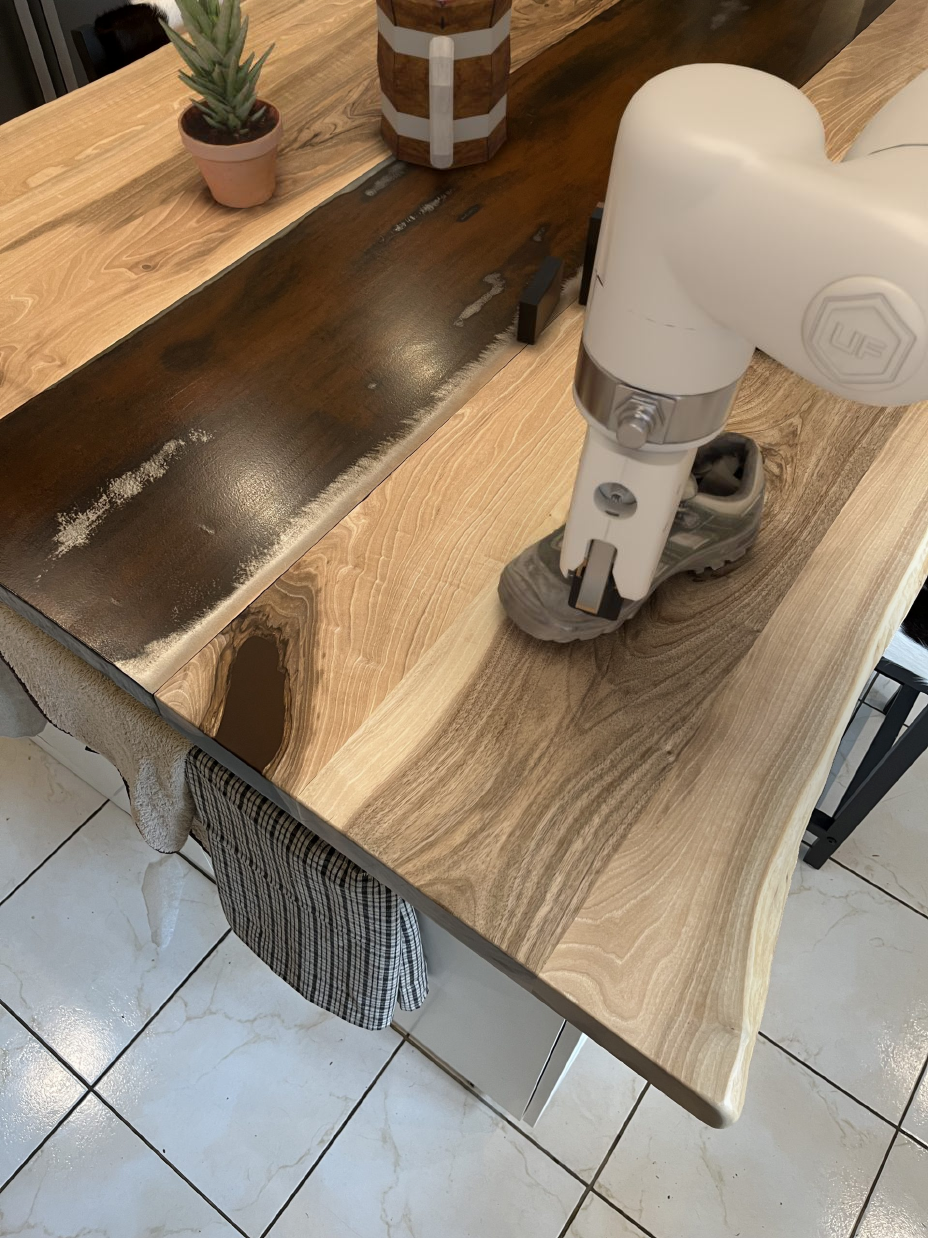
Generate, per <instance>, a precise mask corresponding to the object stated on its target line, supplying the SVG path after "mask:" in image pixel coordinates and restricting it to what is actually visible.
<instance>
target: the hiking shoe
mask: <svg viewBox="0 0 928 1238" xmlns="http://www.w3.org/2000/svg"><path fill="white" fill-rule="evenodd" d="M766 460H767V459H766V457H765V455H764V451H763V449H762V448H761V446H759V444H758V443H757V442H755V440H754V439H753V438H752V437H750V436H747V435H745V434H742V433H739V432H735V431H725V432H721V433H720V434H719V435H718V436H716V437H715V438H714V439H713V440H711V441H710V442H708V443H706V444H704V445H702V446H699V447H698V449H697V453H696V456H695V459H694V462H693V465H692V468H691V472H690V474H689V477H688V480H687V483H686V486H685V489H684V492H683V495H682V498H681V501H680V503H679V506H678V509H677V512H676V515H675V518H674V520H673V523H672V526H671V529H670V532H669V535H668V537H667V540H666V543H665V546H664V549H663V552H662V554H661V557H660V560H659V563H658V565H657V568H656V571H655V574H654V577H653V580H652V582H651V585H650V588H649V590H648V593H647V594H646V596H644V597H643V598H641V599H639V600H637V601H634V600H631V599H627V598H625V600H624V603H623V606H622V608H621V611H620V614H619V617H618V619H617V620H616V621H610V620H607V619H604V618H601V617H593V616H590V615H587V614H585V613H583V612H582V611H580V610H577V609H574V608H571V607H570V606H569V605H568V599H569V594H570V590H571V586H572V581H573V577H574V575H573V576H570V575H569V576H568V578H565V576H564V575H563V573H562V571H561V569H560V557H561V550H562V544H563V538H564V533H565V527H566V522H565V523H564V524H562V525H560V526H559V527H558V528H555V529H554V530H553V531H552V532H551V533H550V534H548V535H546V536H544V537H542V538H541V539H539V540H537V541H536V542H534V543H533V544H531V545H529V546H527V548H525V549H524V550H523V551H522V552H521V553H520V554H519V555H516V557H514V558H513V559H512V560H510V561H509V563H507V564H506V565H505V567H504V568H503V570H502V571H501V574H500V577H499V580H498V585H497V588H496V589H497V590H496V591H497V594H498V599H499V602H500V605H502V607H503V609H504V611H505V612H506V614H507V616H508V617H509V619H511V620H512V622H514V624H515V625H516V626H517V627H518V628H520V630H522V631H523V632H525V633H527V634H529V635H530V636H532V637H533V638H535V639H539V640H542V641H553V642H556V643H569V642H572V641H574V640H577V639H578V640H580V641H586V640H590V639H596V638H597V637H599V636H600V635H601V634H610V633H612V632H614V631H616V630H617V629H619V628H620V627H621V626H622V624H624V622H625V621H626V620H630V619H632V618H633V617H634V616H635V615H636V614H637V613H638V612H639V611H640V609H641V608H642V606H643V604H645V603H647V601H648V599H649V598H650V597H651V595H652V594H653V593H654V591H655V590H656V589H657V588H658V587H659V586H660V585H661V584H662V583H664V582H665V581H667V579H669V578H670V577H671V576H674V575H677V574H679V573H683V572H687V571H691V570H693V572H695V574H696V575H698V574H702V573H704V572H705V568H708V567H710V568H711V569H712V570H713V571H715V570H717V569H719V568H722V567H723V566H724V565H725V562H726V561H730V562H731V563H732V562H734V561H736V560H738V559H740V558H741V557H743V556H744V555H746V552H747V549H748V548H750V547H751V546H753V545H754V544H755V543H756V541H757V539H758V537H759V533H760V530H761V529H760V528H761V523H762V513H763V509H764V505H765V497H764V494H765V492H766V487H767V486H766V472H765V469H764V465H765V464H766Z"/></svg>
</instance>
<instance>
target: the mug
mask: <svg viewBox="0 0 928 1238" xmlns="http://www.w3.org/2000/svg"><path fill="white" fill-rule="evenodd" d="M375 2H376V3H375V4H376V17H377V19H376V20H377V40H376V41H377V43H376V46H377V47H376V49H377V50H376V64H377V71H378V72H377V73H378V78H379V79H378V80H379V85H380V95H381V96H380V97H381V98H380V100H381V122H380V137H381V138H382V139H383V141H384V143H385V144H386V145H387V148H389V150H390V151H391V153H392V154H393V156H394V158H395V159H396V160H399V161H404V162H407V163H412V164H415V165H419V166H422V167H423V166H424V167H426V168H427V167H428V168H431V169H436V170H440V171H445V170H447V171H448V170H452V169H456V168H462V167H467V166H471V165H472V166H473V165H476V164H482V163H486V162H490V161H491V159H492V158H493V157H494V155H496V153H497V152H498V150H499V149H500V148H501V147H502V145H503V144H504V143H505V142H506V140H507V139H508V132H507V131H508V130H507V117H506V115H507V113H506V112H507V95H508V94H507V93H508V86H509V79H510V71H511V66H512V57H511V55H512V54H511V51H512V50H511V24H512V23H511V21H512V6H513V0H375Z"/></svg>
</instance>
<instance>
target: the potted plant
mask: <svg viewBox="0 0 928 1238" xmlns="http://www.w3.org/2000/svg"><path fill="white" fill-rule="evenodd" d="M174 2H175V4H176V6H177V8H178V10H179V12H180V18H181V20H182V23H183V26H184V28H185V29H186V32H187V34H188V36H189V38H190V39H191V41H192V43H193V44H192V43H190V41H188V40H187V39H186V38H184V37H183V36H182V35H180V34H179V33H178V32H177V31H175V30H174V29H173V28H172V27H171V26H170V25H169V24H167V22H165V21H164V20H163V19H162V18H160V17H158V22H159V23H160V25H161V27H162V28H163V29H164V31H165V34H166V35H167V37H168V39H169V40H170V42H171V43H172V45H173V46H174V48H175V50H176V51H177V53H178V54H179V56H180V57H181V58H182V60H183V61H184V62H185V64H186V65H187V66H188V67H189V69H190V71H192V74H191V75H189V74H187V73H185V72H184V71H182V70H181V69H177V71H178V73H179V74H177V78H178V79H180V81H181V82H183V84H184V85H186V86H187V87H189V88H190V90H192V91H194V92H196V93H197V94H199V95H200V96H202V97H203V98H201V99H199V100H195V99H194V98H191V97H189V98H188V100H189V101H190V102H191V103H190V104H188V105H187V106H186V107H185V108H184V109H183V110H182V111H181V112H180V114H179V115H178V118H177V127H178V132H179V135H180V138H181V141H182V144H183V146H184V147H185V149H186V150H187V151H188V152H189V153H191V155H192V156H193V158H194V160H195V162H196V165H197V166H198V169H199V170H200V172H201V174H202V176H203V178H204V180H205V182H206V184H207V186H208V188H209V190H210V192H211V195H212V197H213V199H214V200H215V201H217V202H218V203H219V204H220V205H221V204H222V205H223V206H226V207H229V208H238V209H239V208H241V209H244V208H245V209H246V208H251V207H254V206H255V207H256V206H258V205H262V204H264V203H266V202H267V201H269V200H270V199H271V198H272V196H273V194H274V193H275V192H274V191H275V188H276V186H277V185H276V176H275V175H276V165H277V161H278V160H277V159H278V155H279V154H278V152H279V146H280V142H281V141H282V140H283V138H284V137H283V136H284V132H285V131H284V123H283V119H282V113H281V111H280V110H279V107H278V106H277V105H276V104H275V103H273V102H272V101H271V100H269V99H267V98H265V97H262V96H260V95H259V94H258V93H259V92H258V91H255V90H256V85H257V84H258V80H259V78H260V76H261V71H262V69H263V66H264V63H265V62H266V60H267V59H268V58H269V56H270V54H271V53H272V51H273V50H274V48H275V46H276V42H273V43H272V44H271V45H270V46H269V47H268V49H267V50H266V51H265V52H264V54H262V56H260V58H259V59H258V61H256V63H255V64H254V65H253V62H254V58H255V56H256V55H255V54H256V52H255V51H252V53H250V55H249V57H248V58H247V59H246V60H245V61H244V62H242V64H240V60H241V57H242V55H243V51H244V48H245V44H246V40H247V35H248V29H249V21H250V16H249V13H247V14H246V16H245V17H244V18H245V19H244V21H243V22H242V16H243V15H242V14H243V13H242V12H243V11H242V8H241V0H222V5H221V8H220V0H174ZM252 65H253V66H252Z"/></svg>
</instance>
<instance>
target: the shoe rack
mask: <svg viewBox="0 0 928 1238" xmlns="http://www.w3.org/2000/svg"><path fill="white" fill-rule="evenodd" d="M604 205H605V202H601V201H598V202H597V204H596V206H595V207H594V209H593V211H592V212H591V214H590V216H589V221H588V230H587V237H586V245H585V250H584V251H585V252H584V259H583V266H582V273H581V281H580V286H579V293H578V294H579V295H578V301H577V302H578V304H579V305H582V306H586V307H587V301H588V296H589V290H590V284H591V279H592V273H593V267H594V262H595V256H596V250H597V245H598V239H599V233H600V228H601V222H602V216H603V211H604ZM564 266H565V259H563V258H560V257H555V256H552V255H546V256H545V258H544V260H543V262H542V263H541V265H540V266H539V269H538V270H537V272H536V273H535V275H534V276H533V278H532V280H531V281H530V283H529V285H528V286H527V288H526V290H525V291H524V293H523V295H521V298H520V299H519V304H518V318H517V328H516V329H517V331H516V341H517V342H521V343H525V344H529V345H533V346H534V345H535V343H536V342H537V340H538V339H539V338H540V337H539V336H540V335H541V333H542V332H543V330H544V328H545V326H546V325H547V322H548V321H549V319H550V317H551V315H552V313H553V312H554V310H555V308H556V307H557V305H558V303H559V301H560V299H561V293H562V284H563V276H564V275H563V274H564ZM755 350H758V351H761V352H763V351H762V350H760V349H759V348H757V347H756V348H755Z"/></svg>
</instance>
